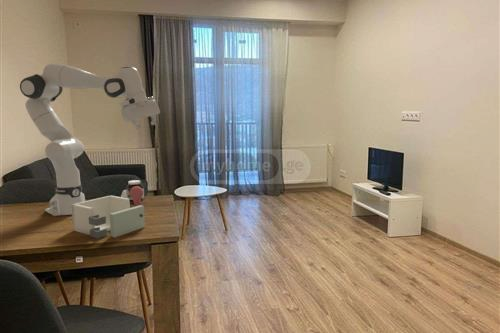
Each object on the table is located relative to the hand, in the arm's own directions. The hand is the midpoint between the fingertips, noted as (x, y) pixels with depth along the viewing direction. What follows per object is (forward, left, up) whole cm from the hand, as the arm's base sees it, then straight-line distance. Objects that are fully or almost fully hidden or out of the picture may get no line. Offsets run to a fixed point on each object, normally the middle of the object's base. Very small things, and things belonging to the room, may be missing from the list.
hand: (146, 126), depth 173 cm
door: (+13, -24, -45) cm, 53 cm away
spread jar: (-33, +14, -45) cm, 57 cm away
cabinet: (0, -27, -45) cm, 52 cm away
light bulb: (-17, +5, -45) cm, 48 cm away
